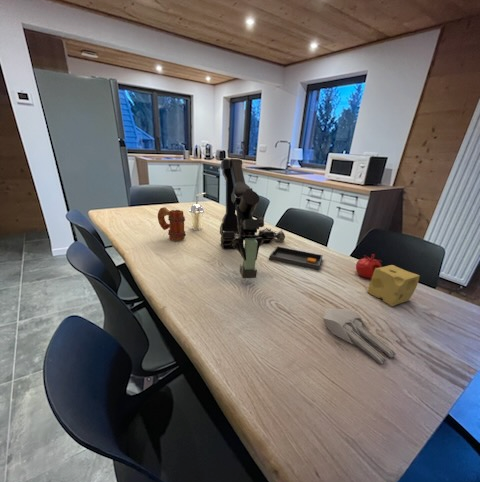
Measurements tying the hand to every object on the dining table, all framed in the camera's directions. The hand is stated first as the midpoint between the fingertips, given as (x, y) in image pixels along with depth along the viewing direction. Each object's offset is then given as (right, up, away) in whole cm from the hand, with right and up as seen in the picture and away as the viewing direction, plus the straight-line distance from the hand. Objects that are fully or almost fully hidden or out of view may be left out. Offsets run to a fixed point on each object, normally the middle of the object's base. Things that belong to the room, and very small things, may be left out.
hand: (250, 260), depth 91 cm
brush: (-1, -5, +4) cm, 7 cm away
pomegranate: (+49, -6, +18) cm, 52 cm away
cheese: (+49, -13, +3) cm, 51 cm away
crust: (+28, 0, +24) cm, 37 cm away
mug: (-38, +13, +42) cm, 57 cm away
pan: (+21, +1, +26) cm, 34 cm away
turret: (+27, -22, -20) cm, 40 cm away
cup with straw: (-28, +20, +59) cm, 68 cm away
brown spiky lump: (+12, +12, +47) cm, 50 cm away
